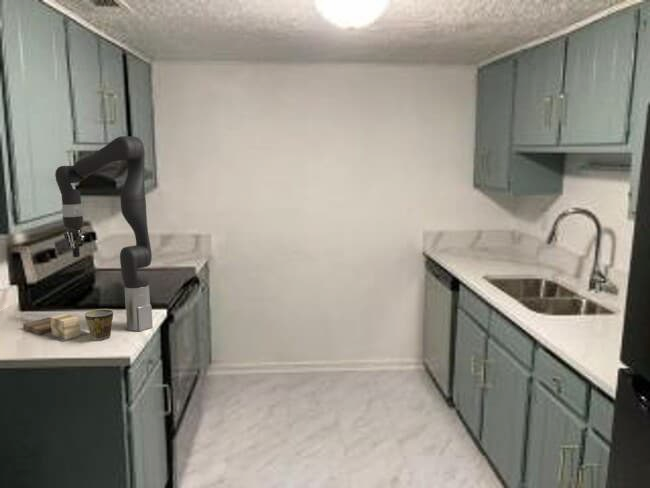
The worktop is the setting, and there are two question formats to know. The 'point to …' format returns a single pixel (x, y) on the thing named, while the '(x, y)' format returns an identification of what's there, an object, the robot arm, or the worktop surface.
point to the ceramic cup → (99, 323)
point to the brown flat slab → (39, 326)
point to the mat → (65, 339)
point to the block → (65, 326)
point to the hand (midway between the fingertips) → (76, 256)
